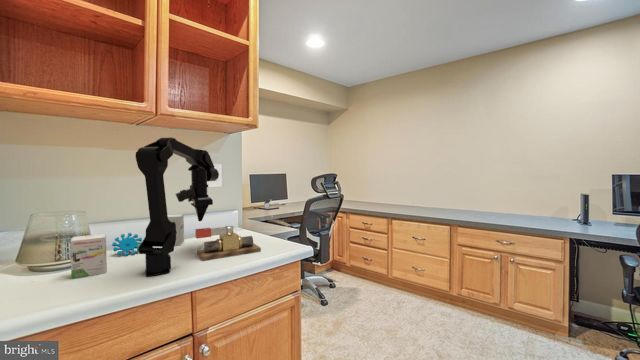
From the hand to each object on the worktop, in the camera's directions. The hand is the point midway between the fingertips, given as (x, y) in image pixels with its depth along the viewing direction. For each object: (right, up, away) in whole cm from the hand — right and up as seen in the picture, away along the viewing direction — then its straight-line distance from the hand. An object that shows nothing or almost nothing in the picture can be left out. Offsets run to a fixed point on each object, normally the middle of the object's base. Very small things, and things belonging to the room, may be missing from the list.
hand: (200, 221), depth 115 cm
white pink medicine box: (-24, -13, -25) cm, 37 cm away
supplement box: (-16, -12, +11) cm, 23 cm away
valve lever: (+8, -5, -6) cm, 11 cm away
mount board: (+12, -12, -2) cm, 17 cm away
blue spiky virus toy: (-26, -13, -3) cm, 29 cm away
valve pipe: (+12, -12, -2) cm, 17 cm away
